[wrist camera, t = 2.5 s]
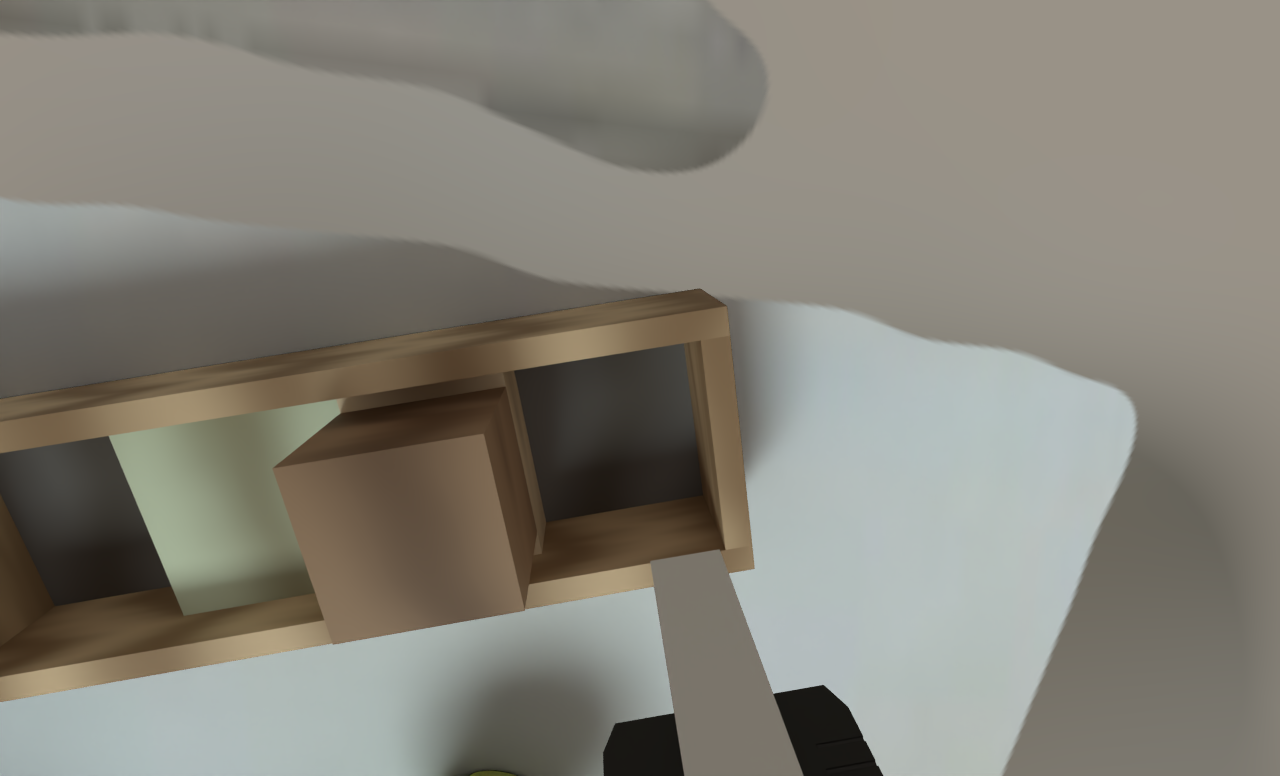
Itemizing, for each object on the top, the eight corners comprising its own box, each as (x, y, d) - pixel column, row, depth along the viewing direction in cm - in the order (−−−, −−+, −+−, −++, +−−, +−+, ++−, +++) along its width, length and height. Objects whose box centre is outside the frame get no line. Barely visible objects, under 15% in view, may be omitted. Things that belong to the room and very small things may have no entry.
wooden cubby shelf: (48, 624, 27) (-70, 714, 22) (-59, 408, 24) (-221, 456, 19) (725, 507, 28) (754, 568, 23) (700, 288, 25) (727, 306, 20)
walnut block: (384, 558, 24) (332, 644, 19) (340, 413, 22) (272, 468, 17) (537, 531, 24) (524, 610, 19) (505, 386, 22) (483, 433, 18)
